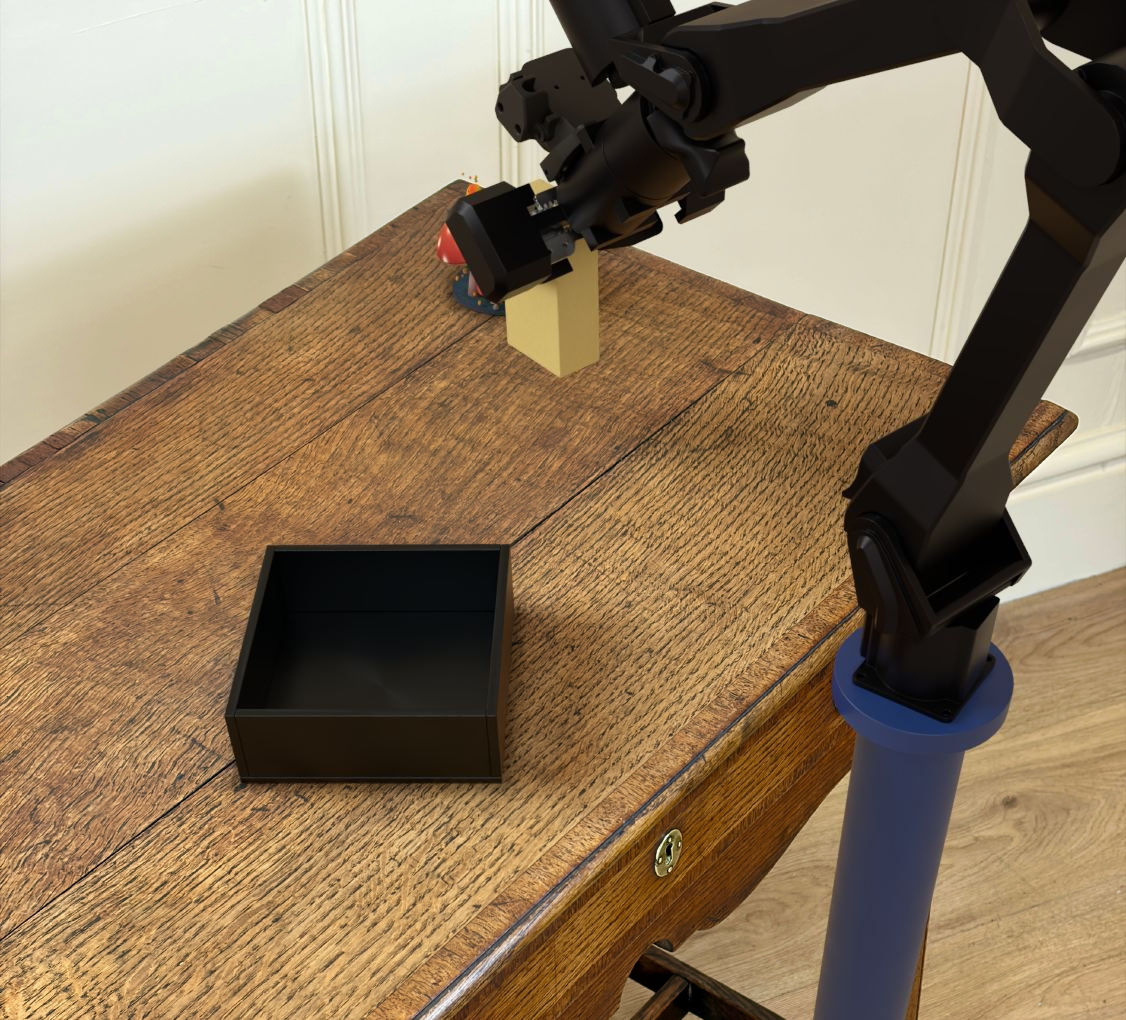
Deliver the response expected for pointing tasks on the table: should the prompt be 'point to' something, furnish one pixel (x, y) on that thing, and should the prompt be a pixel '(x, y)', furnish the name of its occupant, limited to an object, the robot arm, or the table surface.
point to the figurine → (465, 272)
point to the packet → (559, 314)
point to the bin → (375, 665)
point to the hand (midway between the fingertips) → (537, 257)
